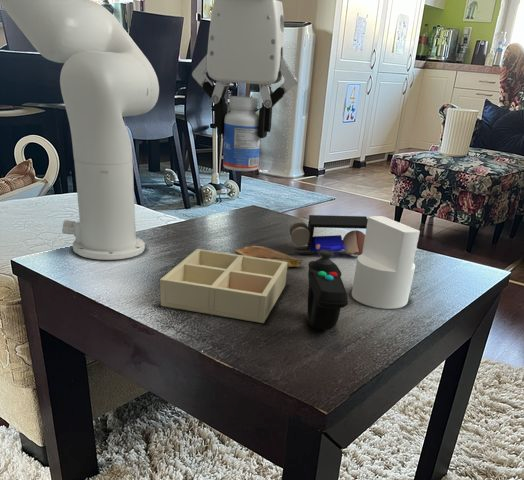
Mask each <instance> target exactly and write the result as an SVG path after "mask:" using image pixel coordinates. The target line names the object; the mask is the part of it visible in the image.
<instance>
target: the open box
mask: <svg viewBox="0 0 524 480" xmlns="http://www.w3.org/2000/svg"><path fill="white" fill-rule="evenodd" d="M287 264H288V262H284V261H277V260H270V259H264V258H257V257H250V256H243V255H237V254H236V253H229V252H221V251H216V250H215V251H214V250H208V249H203V248H196V249H195V250H194V251H192V252H191V253H190V254H189V255H187V256H186V257H185V258H184V259H183V260H181V261H180V262H179V263H178V264H177V265H176V266H174V267H173V268H172V269H171V270H169V271H168V272H167V273H166V274H165V275H163V276H162V277H161V278H160V279H159V281H160V282H159V287H160V288H159V289H160V291H159V293H160V306H161V307H166V308H172V309H178V310H184V311H189V312H196V313H201V314H207V315H211V316H218V317H225V318H231V319H237V320H242V321H246V322H247V321H248V322H255V323H260V324H264V323H265V322H266V321H267V318H268V317H269V315H270V313H271V311H272V310H273V308H274V306H275V305H276V304H277V302H278V299H279V298H280V296H281V294H282V292H283V290H284V289H285V287H286V282H287V273H288V267H287Z"/></svg>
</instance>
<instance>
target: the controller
mask: <svg viewBox="0 0 524 480" xmlns="http://www.w3.org/2000/svg"><path fill="white" fill-rule="evenodd" d="M334 253H335V252H334V251H330V250H320V251H319V252H317V254H318V255H319V256H320V258H318V259H317V260H311V261H308V273H307V278H308V279H307V280H308V289H307V317H308V318H307V319H308V324H309V325H310V326H311V328H313V329H315V330H326V331H327V330H331V329H333V328H335V326H337V323H338V322H339V317H340V314H341V309H344V308H346V307H347V306H348V305H349V299H348V292H347V289H346V287H345V284H344V283H343V280H342V272H341V270H340V268H339V267H338V265H337V264H336V263H335V262H334V261H333V260H332V259H331V257H333V256H335V255H334Z"/></svg>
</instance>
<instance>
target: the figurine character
mask: <svg viewBox="0 0 524 480" xmlns="http://www.w3.org/2000/svg"><path fill="white" fill-rule="evenodd" d="M367 222H368V217H367V216H365V215H364V216H363V215H325V214H323V215H321V214H309V215H308V223H307V224H306V222H304V221H302V220H297V221H294V222H293V223H291V224H290V226H289V234H290V235H289V236H290V237H291V242H292V243H293V244H294V245H296V246H298V250H301V251H300V252H299V254H301V255H307V254H308V255H310V254H316V253H319V251H320V250H330V251H332V252H342V251H344V252H345V253H346V254H347V255H349V256H351V257H358V256H359V255H362V252H363V246H364V240H365V234H366V233H364V232H363V231H361V230H362V229H363V230H364V229H365V230H366V228H367ZM315 228H318V229H319V228H325V229H333V228H334V229H354V230H350V231H348V232H347V233H346V234H344V236H343V238H342V235H341V234H337V235H336V234H335V235H316V236H315V235H314V232H315ZM356 229H358V230H356ZM359 229H361V230H359Z"/></svg>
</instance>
